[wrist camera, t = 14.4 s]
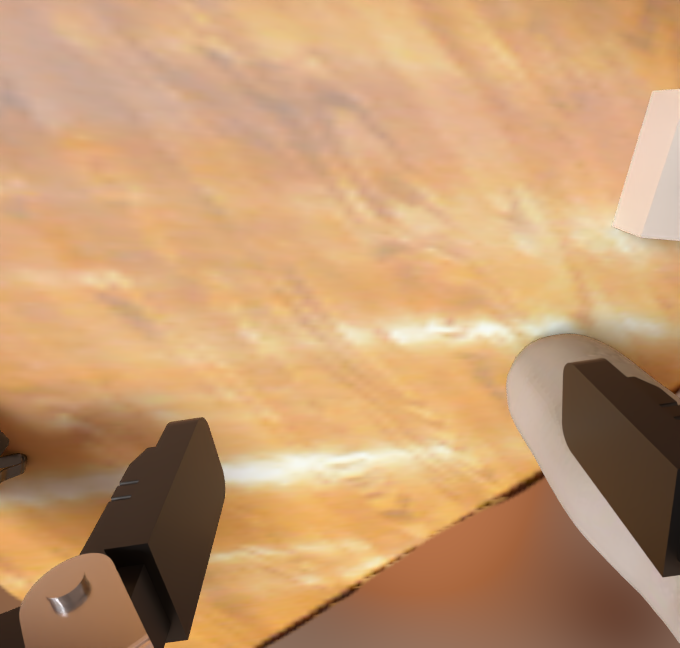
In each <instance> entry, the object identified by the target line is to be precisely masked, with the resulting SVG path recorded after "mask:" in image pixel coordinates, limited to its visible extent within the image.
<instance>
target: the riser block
mask: <svg viewBox="0 0 680 648" xmlns="http://www.w3.org/2000/svg"><path fill="white" fill-rule="evenodd" d="M612 227H615V228H617V229H620V230H622V231H625V232H628V233H630V234H633V235H635V236H638V237H640V238H652V239H663V240H675V241H680V89H671V90H657V91H652V94H651V97H650V101H649V104H648V107H647V111H646V114H645V117H644V121H643V124H642V127H641V130H640V134H639V137H638V140H637V144H636V147H635V150H634V154H633V157H632V160H631V164H630V167H629V170H628V174H627V177H626V180H625V183H624V187H623V190H622V193H621V197H620V200H619V203H618V207H617V210H616V213H615V217H614V220H613V223H612Z"/></svg>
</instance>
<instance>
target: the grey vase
mask: <svg viewBox="0 0 680 648" xmlns="http://www.w3.org/2000/svg"><path fill="white" fill-rule="evenodd" d="M597 358H605V359H606V360H608V361H609V362H610V363H611V364H612V365H614V366H615V367H616V368H617V369H618V370H619V371H621V372H622V373H623V374H624V375H625V376H626V377H633V376H635V377H637V378H639V379H641V380H644V381H646V382H648V383H651V384H653V385H655V386H657V387H659V388H661V389H662V390H663V391H664V392H666V393H667V394H668V395H669V396H671V397H672V398H673V399H674V400H675V401H677V404H678V405H680V398H679V397H678V396H676V395H675V394H674V393H672V392H671V391H670V390H668V389H667V388H666V387H664V386H663V385H661V384H660V383H659V382H657V381H656V380H655V379H653V378H652V377H651V376H650V375H648V374H647V373H646V372H645V371H643V370H642V369H641V368H640V367H638V366H637V365H636V364H635V363H633V362H632V361H631V360H629V359H628V358H627V357H625V356H624V355H623V354H621V353H620V352H618V351H617V350H615V349H613V348H612V347H610V346H608V345H606V344H604V343H602V342H600V341H598V340H596V339H593V338H590V337H587V336H583V335H577V334H559V335H553V336H548V337H544V338H541V339H538V340H536V341H534V342H532V343H530V344H529V345H528V346H526V347H525V348H524V349H523V350H522V351H521V352H520V353H519V355H518V356H517V357H516V358H515V360H514V362H513V364H512V366H511V369H510V371H509V373H508V375H507V383H506V390H507V401H508V407H509V411H510V414H511V417H512V419H513V421H514V423H515V425H516V427H517V429H518V431H519V432H520V434H521V436H522V438H523V439H524V441H525V442H526V444H527V446H528V447H529V449H530V451H531V452H532V454H533V455H534V457H535V459H536V461H537V463H538V464H539V466H540V468H541V470H542V472H543V474H544V476H545V477H546V479H547V481H548V483H549V485H550V486H551V488H552V489H553V491H554V493H555V495H556V497H557V498H558V500H559V502H560V503H561V505H562V506H563V508H564V510H565V511H566V513H567V514H568V515H569V517H570V518H571V520H572V521H573V523H574V524H575V525H576V527H577V528H578V529H579V531H580V532H581V533H582V534H583V535H584V537H585V538H586V539H587V540H588V541H589V542H590V543H591V544H592V545H593V546H594V547H595V548H596V550H597V551H598V552H600V554H601V555H602V556H603V557H604V558H605V559H606V560H607V561H608V562H609V563H610V564H611V565H612V566H613V567H614V568H615V569H616V570H617V571H618V572H619V573H620V574H621V575H622V576H623V577H624V578H625V579H626V580H627V581H628V582H629V583H630V584H631V585H632V586H633V587H634V588H635V589H636V590H637V591H638V592H639V593H640V594H641V595H642V596H643V597H644V599H645V600H646V601H647V602H648V603H649V605H650V606H651V607H652V608H653V610H654V611H655V612H656V613H657V614H658V616H659V617H660V618H661V619H662V620H663V622H664V623H665V624H666V625H667V627H668V628H669V629H670V631H671V632H672V633H673V635H674V636H675V637H676V638H677V640H678V642H679V643H680V575H677V576H670V577H662V576H661V575H660V573H659V572H658V571H657V569H656V568H655V566H654V565H653V564H652V562H651V561H650V560H649V558H648V557H647V556H646V554H645V553H644V551H643V550H642V549H641V547H640V546H639V545H638V543H637V542H636V540H635V539H634V538H633V536H632V535H631V534H630V532H629V531H628V530H627V528H626V527H625V525H624V524H623V523H622V521H621V520H620V519H619V517H618V516H617V514H616V513H615V512H614V510H613V509H612V508H611V506H610V505H609V504H608V502H607V501H606V499H605V498H604V497H603V495H602V494H601V493H600V491H599V490H598V488H597V487H596V486H595V484H594V483H593V482H592V480H591V479H590V478H589V476H588V475H587V473H586V472H585V471H584V469H583V468H582V467H581V465H580V464H579V462H578V461H577V460H576V458H575V457H574V456H573V454H572V453H571V451H570V450H569V448H568V446H567V444H566V441H565V438H564V434H563V429H562V391H563V370H564V366H565V365H566V364H567V363H571V362H577V361H584V360H591V359H597Z"/></svg>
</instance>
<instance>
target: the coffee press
mask: <svg viewBox="0 0 680 648" xmlns="http://www.w3.org/2000/svg"><path fill="white" fill-rule="evenodd" d="M8 444H9V439H8V438H7V437H6V436H5V435H4V434H3V433H2V432H1V430H0V455H1V454H2V453H3V452H4V450H5V449H6V447H7V446H8ZM26 463H27V457H26V455H24V454H20V453H17V454H12V455H8V456H3V457H0V468H5V467H8V468H6V469H3V470H2V471H0V483H1V482H3V481H4V480H7V479H9V478H12V477H15V476H18V475H20V474H22V473H24V472H25V470H26ZM13 465H14V466H13ZM9 466H11V467H9Z"/></svg>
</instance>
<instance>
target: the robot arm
mask: <svg viewBox="0 0 680 648" xmlns="http://www.w3.org/2000/svg"><path fill="white" fill-rule="evenodd" d="M562 429H563V434H564V438H565V441H566V444H567V446H568V448H569V450H570V451H571V453H572V454H573V456H574V457H575V458H576V460H577V461H578V462H579V464H580V465H581V467H582V468H583V469H584V471H585V472H586V473H587V475H588V476H589V478H590V479H591V480H592V482H593V483H594V484H595V486H596V487H597V488H598V490H599V491H600V493H601V494H602V495H603V497H604V498H605V499H606V501H607V502H608V504H609V505H610V506H611V508H612V509H613V510H614V512H615V513H616V514H617V516H618V517H619V519H620V520H621V521H622V523H623V524H624V525H625V527H626V528H627V530H628V531H629V532H630V534H631V535H632V536H633V538H634V539H635V540H636V542H637V543H638V545H639V546H640V547H641V549H642V550H643V551H644V553H645V554H646V556H647V557H648V558H649V560H650V561H651V562H652V564H653V565H654V566H655V568H656V569H657V571H658V572H659V573H660V575H661V576H662V577H670V576H677V575H680V405H678V404H677V401H675V400H674V399H673V398H672V397H671V396H669V395H668V394H667V393H666V392H664V391H663V390H662V389H661V388H659V387H657V386H655V385H653V384H651V383H648V382H646V381H644V380H641V379H639V378H637V377H635V376H633V377H626V376H625V375H624V374H623V373H622V372H621V371H619V370H618V369H617V368H616V367H615V366H614V365H612V364H611V363H610V362H609V361H608V360H606V359H605V358H597V359H591V360H584V361H577V362H571V363H567V364H566V365H565V366H564V370H563V391H562ZM224 498H225V480H224V474H223V470H222V467H221V464H220V460H219V457H218V454H217V451H216V448H215V444H214V441H213V438H212V435H211V432H210V428H209V425H208V423H207V421H206V420H205V419H204V418H203V417H201V418H194V419H188V420H181V421H174V422H170V423H168V424H167V426H166V428H165V430H164V432H163V434H162V436H161V438H160V440H159V441H158V443H157V445H156V447H151V448H147V449H146V450H145V451H144V452H143V453H142V454H141V455H139V456H138V457H137V458H136V459H135V460H134V461H133V462H132V463H131V464H130V465H129V467H128V469H127V470H126V472H125V474H124V476H123V478H122V479H121V481H120V486H118V487H117V488H116V490H115V492H114V494H113V496H112V497H111V499H112V500H111V502H109V503H108V505H107V506H106V508H105V510H104V512H103V514H102V515H101V517H100V519H99V521H98V523H97V524H96V526H95V528H94V530H93V532H92V533H91V535H90V537H89V539H88V541H87V542H86V544H85V546H84V548H83V550H82V551H81V553H80V555H79V556H75V557H73V558H70V559H68V560H66V561H64V562H62V563H60V564H59V565H57V566H55V567H54V568H52V569H51V570H50V571H48V572H47V573H46V574H45V575H43V576H42V577H41V578H40V579H39V580H38V581H37V582H36V583H35V584H34V585H33V586H32V588H31V589H30V590H29V592H28V593H27V595H26V596H25V598H24V600H23V602H22V604H21V606H20V607H18V608H15V609H13V610H10V611H8V612H5V613H3V614H0V648H164V645H165V643H168V642H175V641H183V640H188V638H189V634H190V630H191V626H192V622H193V619H194V615H195V611H196V607H197V603H198V599H199V595H200V592H201V588H202V584H203V580H204V576H205V572H206V568H207V565H208V561H209V557H210V553H211V549H212V545H213V542H214V538H215V534H216V530H217V526H218V522H219V518H220V515H221V511H222V507H223V503H224Z"/></svg>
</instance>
